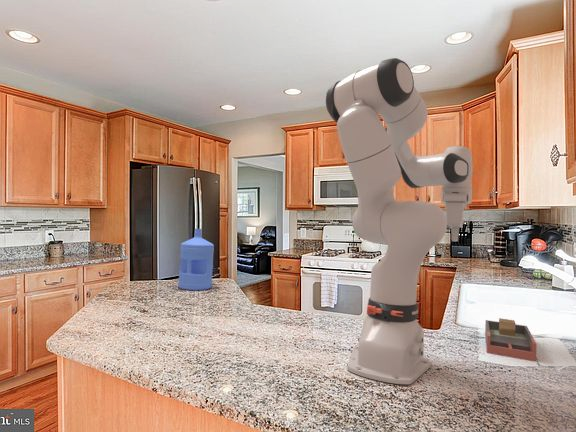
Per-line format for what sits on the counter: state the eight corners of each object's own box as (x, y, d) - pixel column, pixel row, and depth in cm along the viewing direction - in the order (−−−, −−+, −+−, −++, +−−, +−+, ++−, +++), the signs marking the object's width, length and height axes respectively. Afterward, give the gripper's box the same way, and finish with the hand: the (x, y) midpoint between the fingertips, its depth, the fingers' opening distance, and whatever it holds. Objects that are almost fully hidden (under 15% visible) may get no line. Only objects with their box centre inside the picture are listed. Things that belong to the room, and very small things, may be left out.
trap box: (536, 361, 92) (536, 343, 92) (486, 352, 97) (487, 335, 97) (526, 340, 110) (526, 325, 110) (485, 334, 115) (485, 320, 115)
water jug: (189, 283, 182) (192, 228, 182) (217, 286, 177) (220, 229, 178) (171, 288, 167) (174, 228, 167) (201, 291, 162) (205, 229, 163)
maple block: (515, 336, 106) (515, 323, 107) (499, 334, 108) (499, 320, 108) (513, 333, 110) (514, 320, 110) (498, 331, 112) (499, 318, 112)
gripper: (447, 200, 126) (446, 240, 125) (443, 195, 108) (441, 241, 107) (467, 200, 123) (466, 241, 123) (466, 195, 105) (465, 242, 104)
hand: (454, 241), depth 115 cm, fingers closed
